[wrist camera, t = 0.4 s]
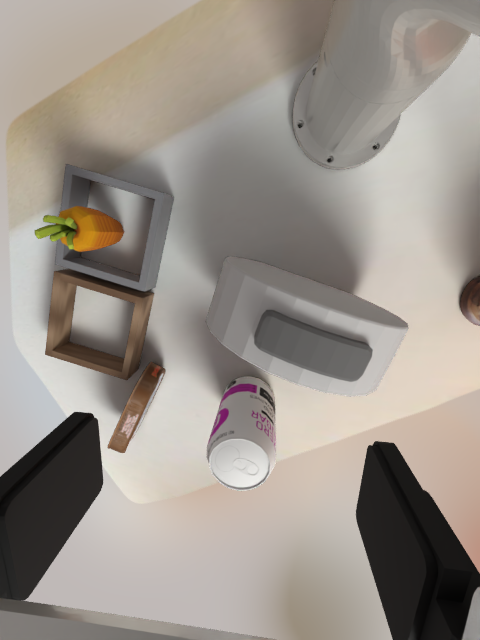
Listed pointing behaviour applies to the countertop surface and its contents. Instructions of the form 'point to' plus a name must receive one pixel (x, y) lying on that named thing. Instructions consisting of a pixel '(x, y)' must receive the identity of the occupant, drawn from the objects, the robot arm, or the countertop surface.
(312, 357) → the alarm clock
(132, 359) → the frame
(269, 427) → the supplement can
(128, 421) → the tin
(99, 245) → the carrot
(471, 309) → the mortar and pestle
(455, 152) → the countertop surface
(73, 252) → the charcoal bin
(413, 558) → the robot arm
